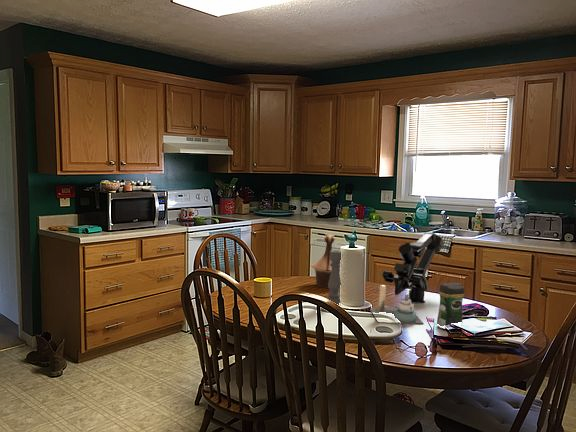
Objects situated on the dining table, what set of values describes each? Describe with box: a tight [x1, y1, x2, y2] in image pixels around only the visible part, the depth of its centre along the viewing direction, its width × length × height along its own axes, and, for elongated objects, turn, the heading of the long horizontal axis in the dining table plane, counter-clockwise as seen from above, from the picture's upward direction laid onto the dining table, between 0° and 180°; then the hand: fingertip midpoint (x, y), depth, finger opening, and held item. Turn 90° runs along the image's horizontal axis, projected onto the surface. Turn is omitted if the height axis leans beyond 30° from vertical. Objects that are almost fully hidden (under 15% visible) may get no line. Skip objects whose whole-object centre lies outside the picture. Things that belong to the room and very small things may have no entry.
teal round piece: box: [394, 310, 417, 322], centre depth 208 cm, size 9×9×4 cm
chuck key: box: [377, 284, 415, 314], centre depth 209 cm, size 14×6×11 cm, turn 76°
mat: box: [369, 307, 424, 325], centre depth 214 cm, size 19×19×1 cm
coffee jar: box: [436, 282, 465, 326], centre depth 200 cm, size 10×8×19 cm
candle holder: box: [326, 249, 342, 305], centre depth 227 cm, size 6×6×25 cm
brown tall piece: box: [310, 233, 336, 289], centre depth 261 cm, size 18×17×28 cm
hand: (395, 294), depth 221 cm, fingers closed
